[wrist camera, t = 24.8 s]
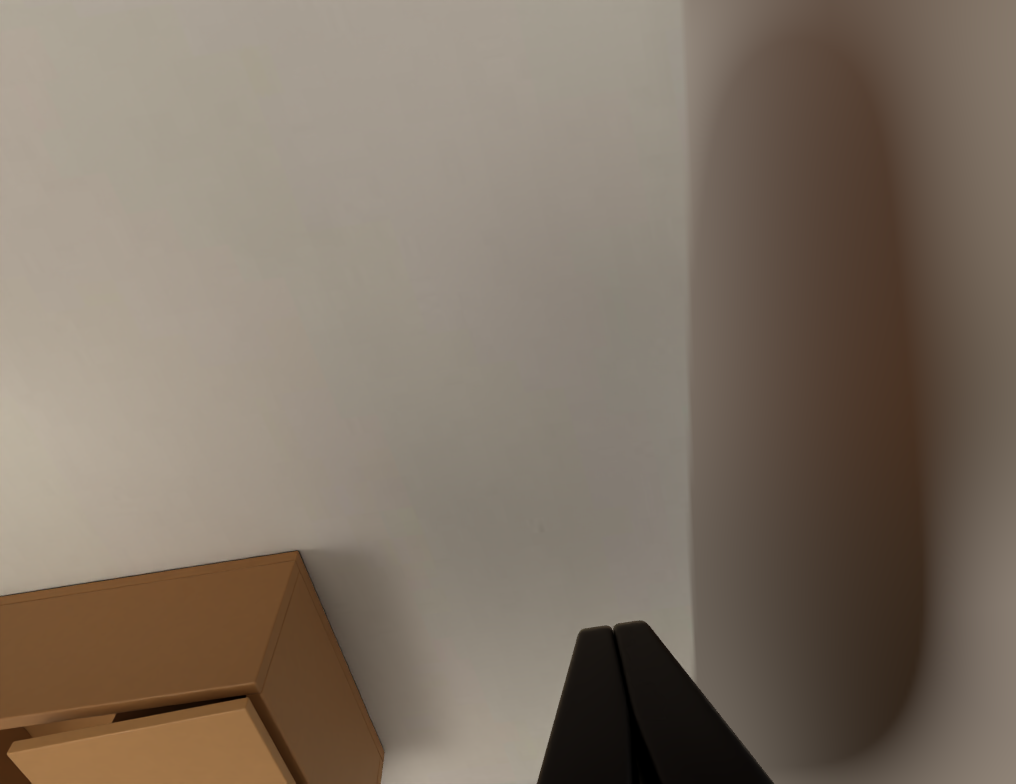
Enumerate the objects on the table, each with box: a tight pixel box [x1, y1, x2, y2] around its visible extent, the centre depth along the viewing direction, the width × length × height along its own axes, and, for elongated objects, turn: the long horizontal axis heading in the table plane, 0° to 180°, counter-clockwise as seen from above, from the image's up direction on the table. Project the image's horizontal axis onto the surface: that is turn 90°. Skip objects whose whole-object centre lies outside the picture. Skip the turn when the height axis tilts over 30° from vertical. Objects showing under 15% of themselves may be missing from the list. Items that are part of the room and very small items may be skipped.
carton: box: [0, 551, 384, 784], centre depth 26 cm, size 14×12×6 cm
